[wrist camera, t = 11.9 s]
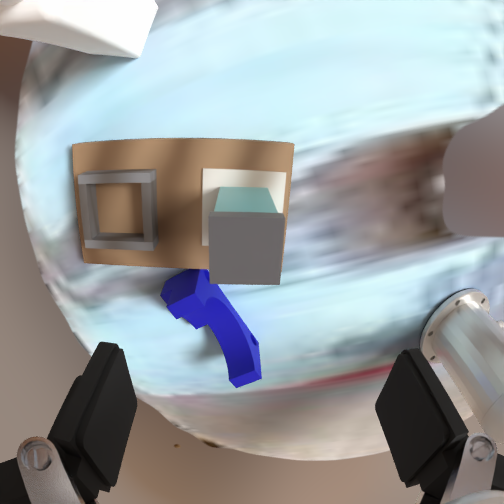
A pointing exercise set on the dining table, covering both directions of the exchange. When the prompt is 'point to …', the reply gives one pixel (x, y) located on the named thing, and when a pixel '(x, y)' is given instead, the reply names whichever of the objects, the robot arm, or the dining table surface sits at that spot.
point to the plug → (245, 237)
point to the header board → (167, 194)
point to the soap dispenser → (81, 24)
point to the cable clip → (215, 321)
